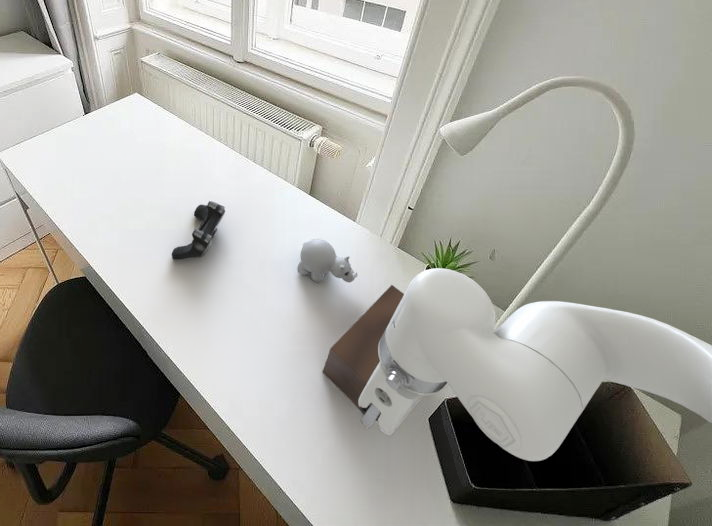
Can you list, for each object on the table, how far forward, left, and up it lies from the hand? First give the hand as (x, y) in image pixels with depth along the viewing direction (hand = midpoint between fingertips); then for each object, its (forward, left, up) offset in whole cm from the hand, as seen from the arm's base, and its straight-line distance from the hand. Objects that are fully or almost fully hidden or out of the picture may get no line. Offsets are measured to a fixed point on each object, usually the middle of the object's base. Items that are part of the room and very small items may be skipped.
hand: (376, 411), depth 58 cm
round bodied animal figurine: (+22, -19, -11) cm, 31 cm away
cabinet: (+6, -12, -11) cm, 17 cm away
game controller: (+47, -5, -11) cm, 49 cm away
